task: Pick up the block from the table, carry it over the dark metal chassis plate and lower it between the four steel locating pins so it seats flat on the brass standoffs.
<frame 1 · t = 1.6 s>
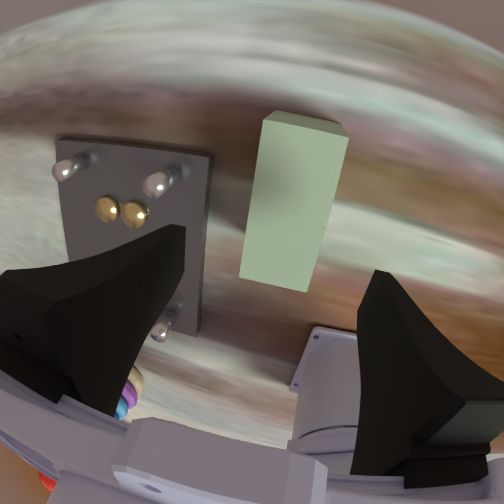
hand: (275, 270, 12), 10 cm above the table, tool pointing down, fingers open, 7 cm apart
block: (295, 183, 20), on the table
chassis: (129, 238, 25), on the table
stacking toy: (119, 369, 36), on the table
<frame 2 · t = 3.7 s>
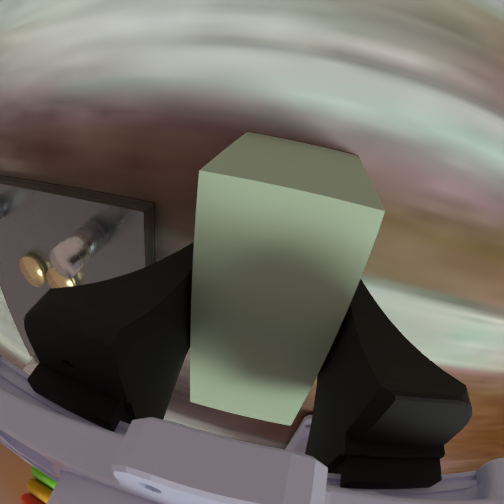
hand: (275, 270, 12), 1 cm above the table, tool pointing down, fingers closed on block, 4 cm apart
block: (280, 251, 13), on the table, touching gripper
chassis: (69, 302, 18), on the table
stacking toy: (89, 421, 29), on the table
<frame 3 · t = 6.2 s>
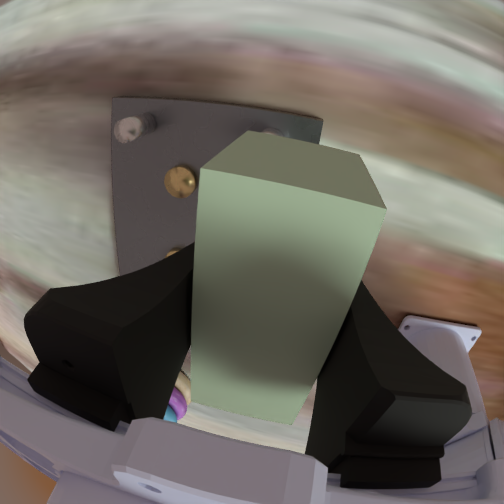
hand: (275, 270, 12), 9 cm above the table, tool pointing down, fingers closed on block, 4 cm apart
block: (280, 250, 13), point 7 cm above the table, touching gripper
chassis: (202, 220, 22), on the table
stacking toy: (162, 376, 33), on the table
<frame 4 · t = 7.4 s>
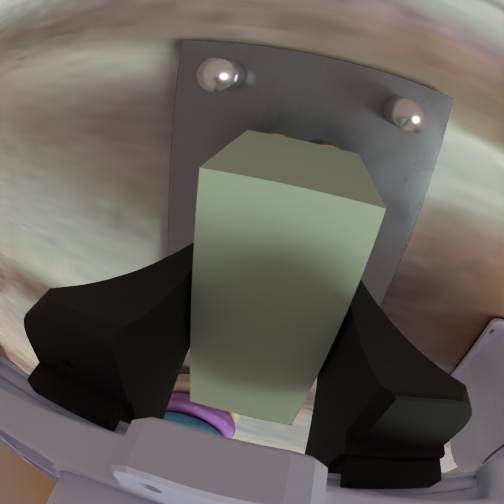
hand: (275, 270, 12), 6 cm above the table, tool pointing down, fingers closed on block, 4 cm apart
block: (280, 249, 13), point 5 cm above the table, touching gripper
chassis: (290, 207, 17), on the table
stacking toy: (202, 393, 28), on the table
when the fingers open (4 cm above the table, at t = 8.6 s): block drops 1 cm, resting on chassis.
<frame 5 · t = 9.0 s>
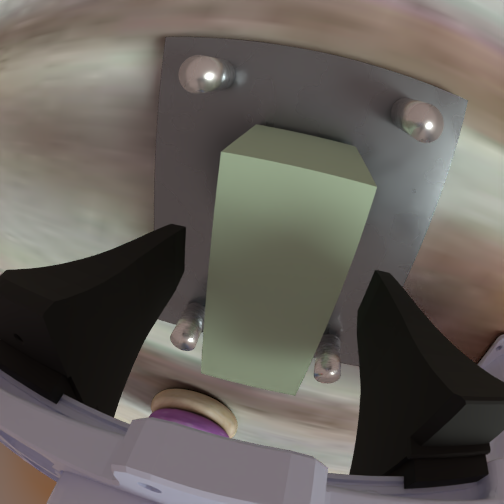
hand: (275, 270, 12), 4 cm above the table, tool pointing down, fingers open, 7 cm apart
block: (284, 233, 14), point 1 cm above the table, touching chassis
chassis: (287, 220, 16), on the table
stacking toy: (197, 407, 27), on the table
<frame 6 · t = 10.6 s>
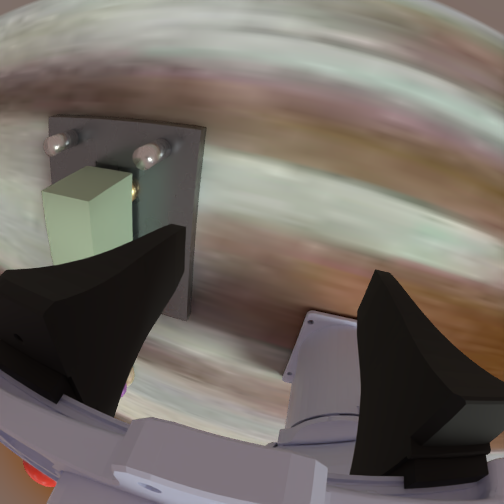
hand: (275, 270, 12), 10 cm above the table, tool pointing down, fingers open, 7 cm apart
block: (110, 225, 23), point 1 cm above the table, touching chassis
chassis: (120, 217, 24), on the table
stacking toy: (109, 357, 35), on the table
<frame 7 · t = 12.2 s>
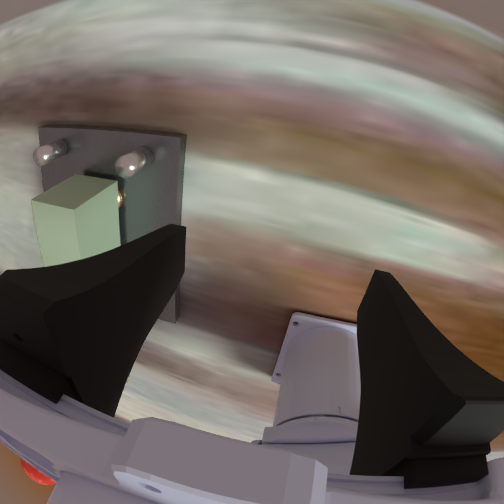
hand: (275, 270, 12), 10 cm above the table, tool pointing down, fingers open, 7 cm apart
block: (99, 231, 23), point 1 cm above the table, touching chassis
chassis: (109, 223, 25), on the table
stacking toy: (104, 359, 36), on the table
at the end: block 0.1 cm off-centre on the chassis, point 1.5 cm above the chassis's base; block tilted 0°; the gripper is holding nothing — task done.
